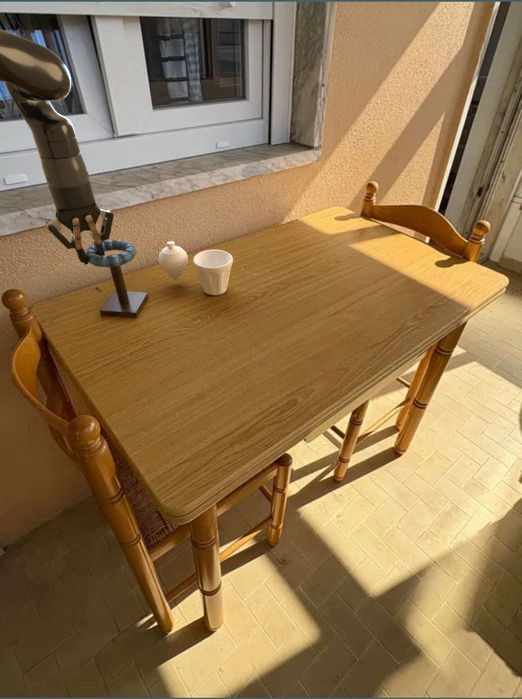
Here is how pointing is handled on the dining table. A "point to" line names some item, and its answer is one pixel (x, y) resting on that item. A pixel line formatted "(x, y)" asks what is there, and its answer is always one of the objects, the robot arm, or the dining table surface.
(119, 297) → the stand
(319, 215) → the dining table surface
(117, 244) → the blue teething ring
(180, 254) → the spinning top
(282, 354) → the dining table surface
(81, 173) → the robot arm
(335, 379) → the dining table surface
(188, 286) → the dining table surface
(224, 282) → the cup
